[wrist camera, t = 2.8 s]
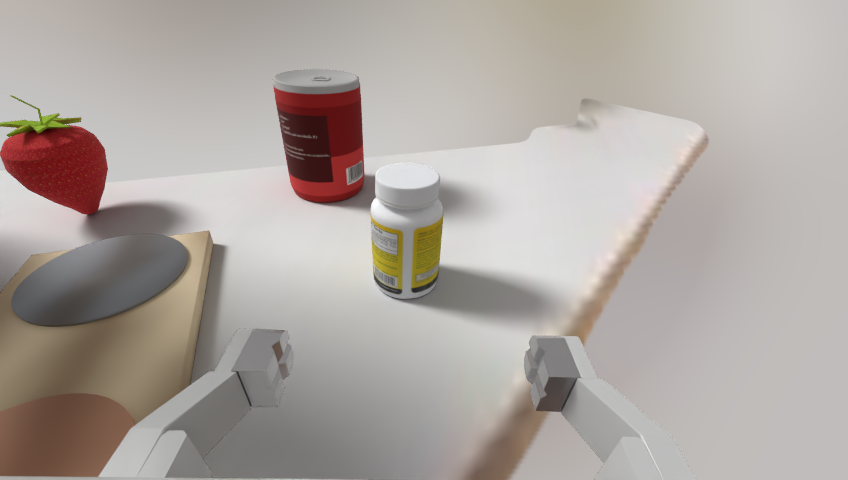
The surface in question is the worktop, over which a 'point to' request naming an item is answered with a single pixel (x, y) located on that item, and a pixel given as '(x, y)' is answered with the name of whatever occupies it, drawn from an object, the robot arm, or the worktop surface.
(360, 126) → the canned food
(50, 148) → the strawberry
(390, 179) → the supplement bottle
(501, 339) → the worktop surface
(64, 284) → the board
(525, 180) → the worktop surface
